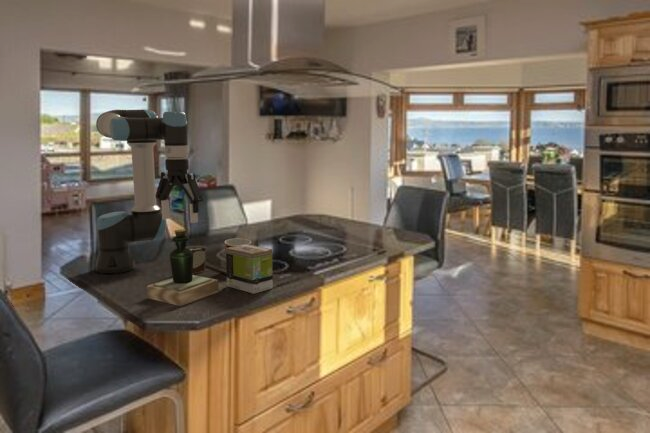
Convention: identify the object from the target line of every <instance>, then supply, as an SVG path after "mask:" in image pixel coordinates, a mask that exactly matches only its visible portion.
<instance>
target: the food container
mask: <svg viewBox="0 0 650 433" xmlns="http://www.w3.org/2000/svg"><path fill="white" fill-rule="evenodd" d="M185 248H187V249H189V250H191V251H192V252H193V253H194V254H193V275H194V274H195V275H196V274H199V273H202V272H205V271H206V258H207V257H206V256H207V255H206V254H207V252H208V249H207V248H208V247H206V246H204V245H192V246H191V245H190V246H186V247H185Z"/></svg>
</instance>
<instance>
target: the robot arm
mask: <svg viewBox="0 0 650 433" xmlns="http://www.w3.org/2000/svg"><path fill="white" fill-rule="evenodd" d="M187 124H188V121H187V115H186V113H185V112H184V111H164V112H162V117H158V114H157V113H156V112H155V111H154V110H151V109H112V110H107V111H105V112H102V113H101V114H100V115H99V116H98V117H97V119H96V122H95V127H96V129H97V131H98V133H99V134H100V135H101V136H103V137H106V138H109V139H111V140H113V141H120V142H124V141H126V144H127V145H128V146H129V147H130V148H131V149H130V150H131V164H132V165H131V167H132V177H133V179H132V180H133V182H132V183H133V193H134V195H133V197H134V206H133V207H132V208H131V213H130V214H128V213H127V212H126V211H123V210H121V211H114V212H109V213H105V214H104V213H103V214H101V215H100V216H99V217H98V218H96V232H97V233H96V234H97V245H98V246H97V247H98V253H97V254H98V255H97V258H96V262H95V272H96V271H97V272H96V273H98V272H101V273H100V274H102V273H115V274H120V273H121V274H122V273H126V272H130V271H132V270H134V269H135V265H136V263H135V261H134V258H133V256H132V254H131V250H130V243H138V242H147V241H150V242H151V241H155V240H160V239H162V238H163V237H164V235H165V233H166V228H167V220H169V219H170V218H171V217H170V215H171V214H170V200H169V196H170V194H171V193H172V191H173V189H174V187H180V188H182V190H183V191H184V193H185V195H186V196H187V198H188V199H189V201H190V203H189V216H190V217H189V218H190V219H189V221H190V224H195V223H198V222H199V218H198V217H199V215H198V214H199V212H200V211H199V203H200V202H203V201H204V198H203V195H202V193H201V190H200V187H199V185H198V183H197V180H196V174H195V173H193V172H192V173H188V171H189V169H190V168H189V167H190V166H189V159H188V157H189V147H188V128H187V127H188V125H187ZM160 140H161V141H164V157H165V158H166V159H165V162H164V163H165V164H164V165H165V170H166V171H162V172H160V179H159V183H158V187H157V189H156V174H155V172H156V171H155V157H154V155H155V154H154V147H155V146H156V144H157V141H160ZM157 199H158V200H159V202H160V206H159V205H158V204H157Z"/></svg>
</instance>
